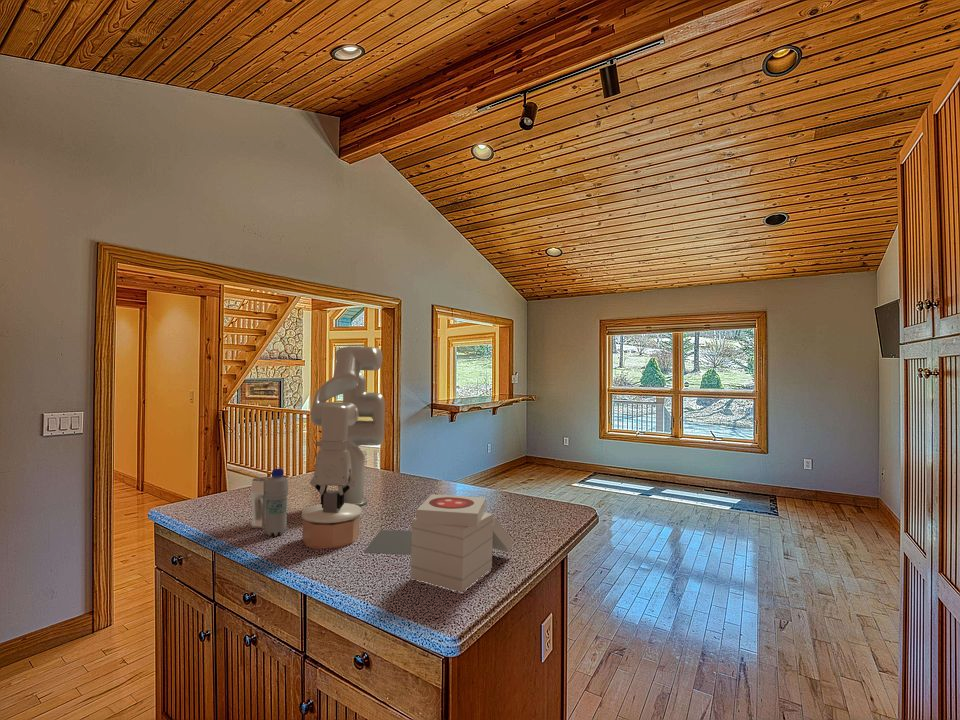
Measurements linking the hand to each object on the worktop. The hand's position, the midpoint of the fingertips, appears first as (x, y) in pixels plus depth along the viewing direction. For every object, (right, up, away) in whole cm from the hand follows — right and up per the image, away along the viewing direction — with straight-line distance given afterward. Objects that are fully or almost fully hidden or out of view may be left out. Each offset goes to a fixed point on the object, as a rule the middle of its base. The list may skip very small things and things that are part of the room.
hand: (332, 506), depth 141 cm
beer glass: (-27, -10, +12) cm, 31 cm away
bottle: (-19, -10, +4) cm, 22 cm away
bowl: (0, -10, 0) cm, 10 cm away
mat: (+22, -11, -1) cm, 24 cm away
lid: (0, -2, 0) cm, 2 cm away
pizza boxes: (+40, -11, -18) cm, 45 cm away
